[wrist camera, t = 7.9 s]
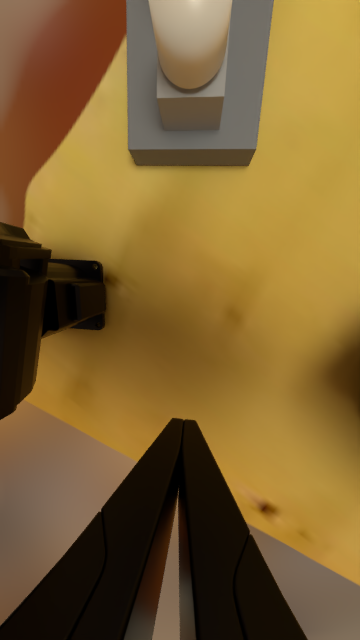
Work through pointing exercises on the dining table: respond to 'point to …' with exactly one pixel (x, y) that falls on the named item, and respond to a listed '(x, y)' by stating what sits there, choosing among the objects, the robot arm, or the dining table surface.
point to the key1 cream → (190, 38)
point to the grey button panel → (197, 94)
